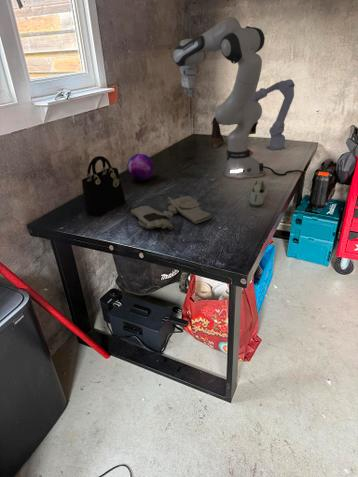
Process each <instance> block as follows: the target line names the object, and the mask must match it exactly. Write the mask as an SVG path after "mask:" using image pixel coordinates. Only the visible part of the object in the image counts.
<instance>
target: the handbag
mask: <svg viewBox="0 0 358 477" xmlns="http://www.w3.org/2000/svg"><path fill="white" fill-rule="evenodd" d="M99 161H101V163H102V168H101V170H100V171H99V172H97V170H96V165H97V163H98V162H99ZM106 165H107V168H106ZM91 171H92V174H91ZM86 172H87V173H86V176H85V177H84V178H82V179H81V185H82V193H83V194H82V195H83V200H84V201H83V202H84V209H85V210H84V211H85V213H86V214H90V215H93V216H97V217H98V216H99V217H100V216H102V215H103V214H105V213H108V212H109V211H111V210H113V209H115V208H116V207H118V206H119V205H121V204H123V203H125V202H126V198H125V193H124V188H123V185H122V180H121V177H120V172H119V169H118V168H117V167H112V165H111V162H110V161H109V160H108V158H106V157H105V156H103V155H96V156H95V157H93V159H92V160H91V161H90V162H89V164H88V167H87V170H86Z"/></svg>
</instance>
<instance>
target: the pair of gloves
mask: <svg viewBox="0 0 358 477" xmlns="http://www.w3.org/2000/svg"><path fill="white" fill-rule="evenodd" d="M166 204H167V205H168V207H167V210H164V211H163V212H161V211H159V210H156V209H155V208H152V207H151V206H149V205H141V206H138V207H135V208H132V209H131V210H130V214H131V215H133V216H134V217H136V218H137V219H138V225H139V226H140V227H142V228H144V229H147V230H154V229H156V228H161V229H168V230H173V229H174V226H173V224H172V223H171V221H170V219H172V218H173V216H174V215H176V214H177V213H180V214H181V216H183V217H184V218H186V219H188V220H189V221H190V222H192V223H193V224H195V225H197V224H200V223H204V222H205V221H207V220H210V219H211V217H212V214H211V213H210V212H207V211H204V210H202V208H201V207H200V202H198V200H196V199H195V198H193V197H192V196H190V195H184V196H180V197H178V198H175V199H174V198H171V197H170V196H168V197H167V199H166Z"/></svg>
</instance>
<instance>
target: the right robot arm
mask: <svg viewBox="0 0 358 477" xmlns="http://www.w3.org/2000/svg"><path fill="white" fill-rule="evenodd" d="M295 86H296V85H295V83H294V81H293V80H292V79H290V78H288V79H286V80H281V81H277V82H275V83H274V84H272V85H270V86H269V87H267V88H265V87H264V88H263V87H262V88H259V90H256V92H255V95H254V96H253V98H252V99H250V100H249V101H255V102H259V101H260V100H263V99H264V98H266V97H268V94H270V93H272V92H274V91H279V92H280V93H281V94H282V96H283V97H284V98H283V101H282V103H281V107H280V109H279V110H278V111H279V112H278V114H277V117H276V120H275V121H274V122H273V123H272V126H271V127H270V128H269V130H268V131H269V135H270V143H269V146H267V148H268V149H270V150H272V151H276V150H283V149H285V144H286V137H285V135H284V134H283V133H284V132H285V127H286V126H285V125H286V124H285V121H286V118H287V116H288V113H289V110H290V108H291V106H292V103H293V100H294V98H295ZM258 124H259V120H258V121H257V122H256V123H255V124H254V125H253V127H252V128H251V131H252V132H255V129H256V130H257V126H258Z"/></svg>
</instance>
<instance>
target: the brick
mask: <svg viewBox="0 0 358 477" xmlns="http://www.w3.org/2000/svg"><path fill="white" fill-rule="evenodd" d="M256 134H257V128H256V129H255V132H252V131H251V130H250V133H249V135H256Z"/></svg>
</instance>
